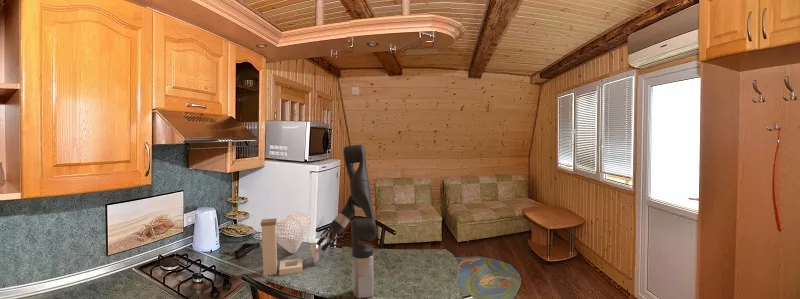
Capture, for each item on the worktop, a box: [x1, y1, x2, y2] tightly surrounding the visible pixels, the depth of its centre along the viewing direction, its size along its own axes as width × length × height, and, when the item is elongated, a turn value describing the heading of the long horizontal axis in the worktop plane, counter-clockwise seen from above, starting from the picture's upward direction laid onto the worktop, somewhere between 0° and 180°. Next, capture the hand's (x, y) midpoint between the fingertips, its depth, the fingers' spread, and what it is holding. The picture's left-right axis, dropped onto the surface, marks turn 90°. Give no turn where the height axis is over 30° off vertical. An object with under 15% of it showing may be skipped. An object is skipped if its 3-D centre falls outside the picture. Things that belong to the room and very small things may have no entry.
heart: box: [276, 211, 312, 254], centre depth 185 cm, size 28×16×22 cm, turn 173°
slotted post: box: [260, 217, 304, 276], centre depth 161 cm, size 11×19×27 cm, turn 108°
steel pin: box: [310, 242, 320, 267], centre depth 169 cm, size 4×4×11 cm
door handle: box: [223, 242, 261, 260], centre depth 188 cm, size 3×20×16 cm
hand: (319, 247), depth 170 cm, fingers open, 8 cm apart
